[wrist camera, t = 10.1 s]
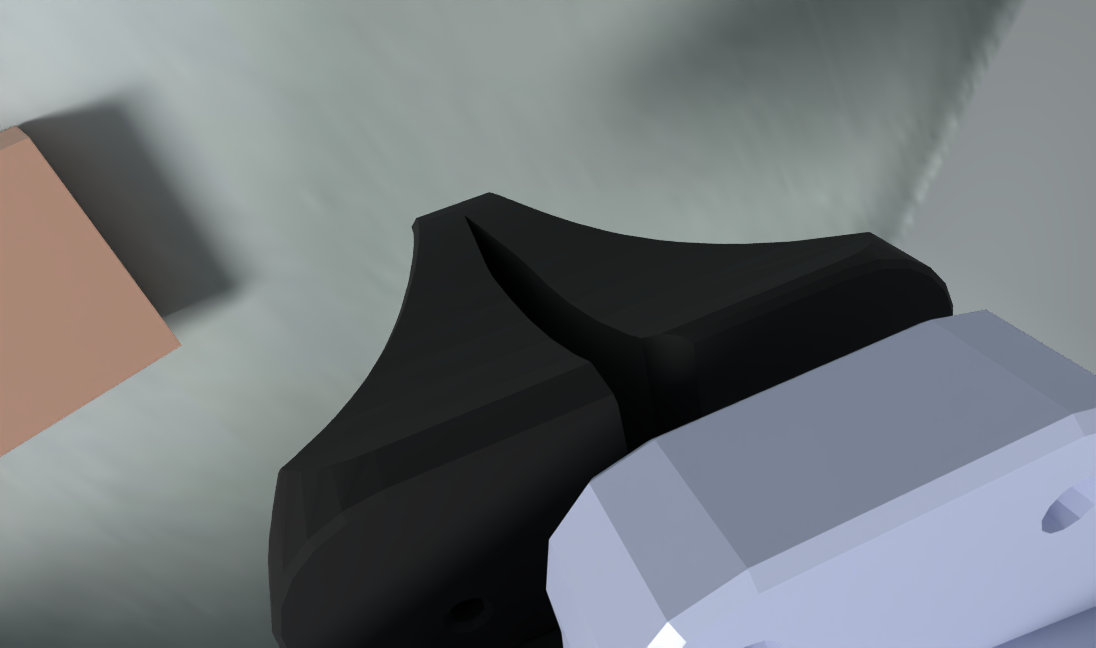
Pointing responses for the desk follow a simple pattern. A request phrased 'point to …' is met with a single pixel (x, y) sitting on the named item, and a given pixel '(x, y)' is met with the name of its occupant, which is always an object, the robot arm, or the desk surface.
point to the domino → (61, 302)
